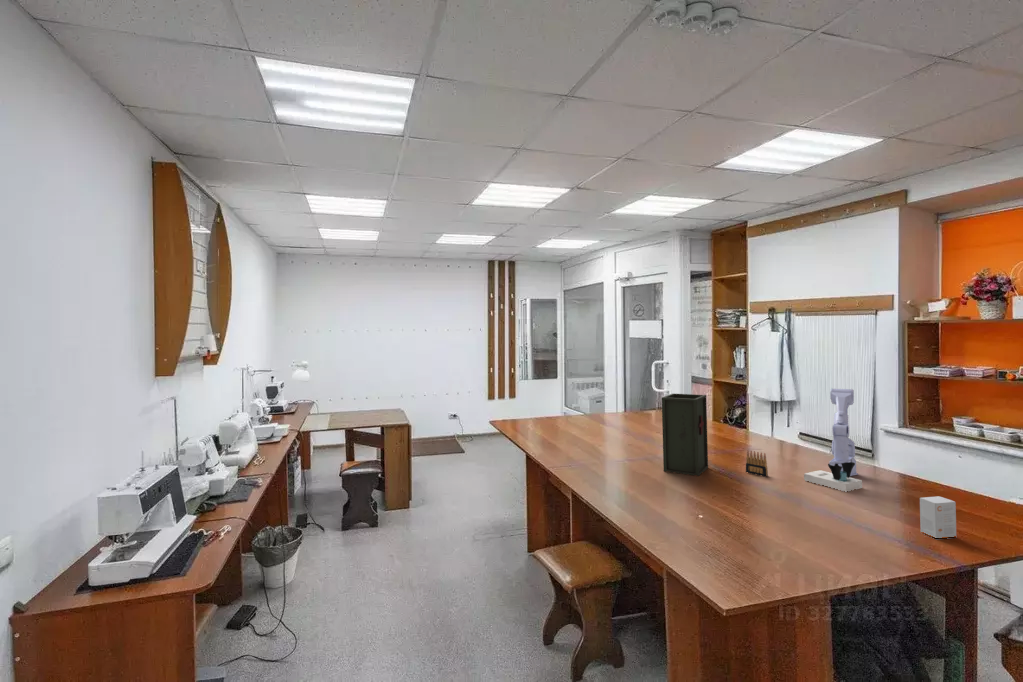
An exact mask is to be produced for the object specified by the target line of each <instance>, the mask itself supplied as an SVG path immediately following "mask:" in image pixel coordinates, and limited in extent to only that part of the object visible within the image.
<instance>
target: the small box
mask: <svg viewBox="0 0 1023 682" xmlns="http://www.w3.org/2000/svg"><path fill="white" fill-rule="evenodd" d="M956 506H957V504H956V501H954V500H952V499H949V498H946V497H943V496H938V495H937V496H927V497H926V496H925V497H919V518H920V519H919V521H920V522H919V523H920V524H919V525H920V533H921V532H924V533H926V534H928V535H931V536H933V537H935V538H942V537H954V536H956V537H957V513H956V512H957V510H956V509H957V507H956Z"/></svg>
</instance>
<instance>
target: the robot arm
mask: <svg viewBox="0 0 1023 682" xmlns="http://www.w3.org/2000/svg"><path fill="white" fill-rule="evenodd" d="M829 394H830V396H829V397H830V402H831V403H832V404H833V405H834V406H836V412H835V413H834V414H833V425H832V428H831V429H832V431H831V432H832V437H833V438H832V441H831V455H833V458H832V459H831V460H829V462H828V464H827V466H828V467H829V469H830V471H831V472H830V473H832V474H833V478H834V479H835V480H839V479H840V472H841V471H845V472H847V478H849V477H850V478H851V477H852V476H856V475H859V473H857V461H856V460H857V459H856V458H855V456H856V445H855V444H856V443H855V442H854V440H852V439H851V438H850V425H849V415H848V413H849V412H848V411H849V406H852V405H854V403H855V395H854V394H855V393H854V389H853V388H833V387H831V388H830V392H829Z"/></svg>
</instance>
